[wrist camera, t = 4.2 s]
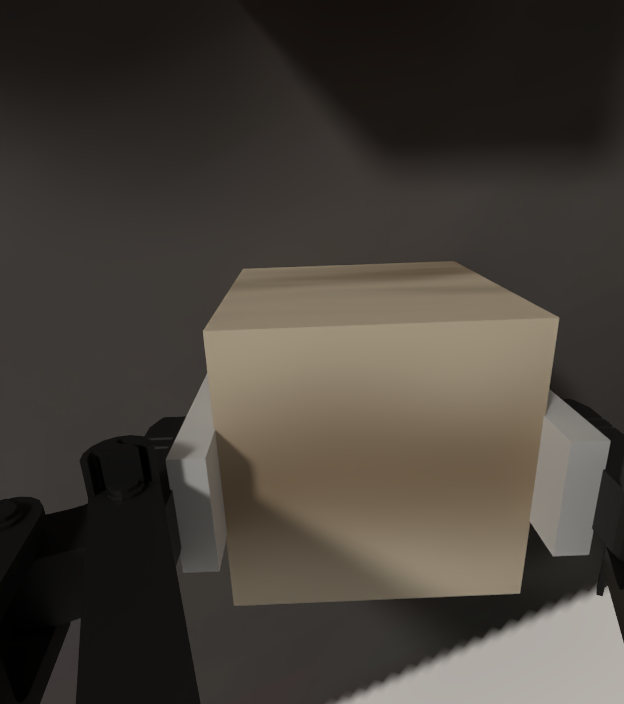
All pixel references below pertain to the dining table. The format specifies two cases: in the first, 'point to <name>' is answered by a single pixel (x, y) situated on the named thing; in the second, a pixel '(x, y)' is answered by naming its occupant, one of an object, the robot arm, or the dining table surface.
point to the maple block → (376, 430)
